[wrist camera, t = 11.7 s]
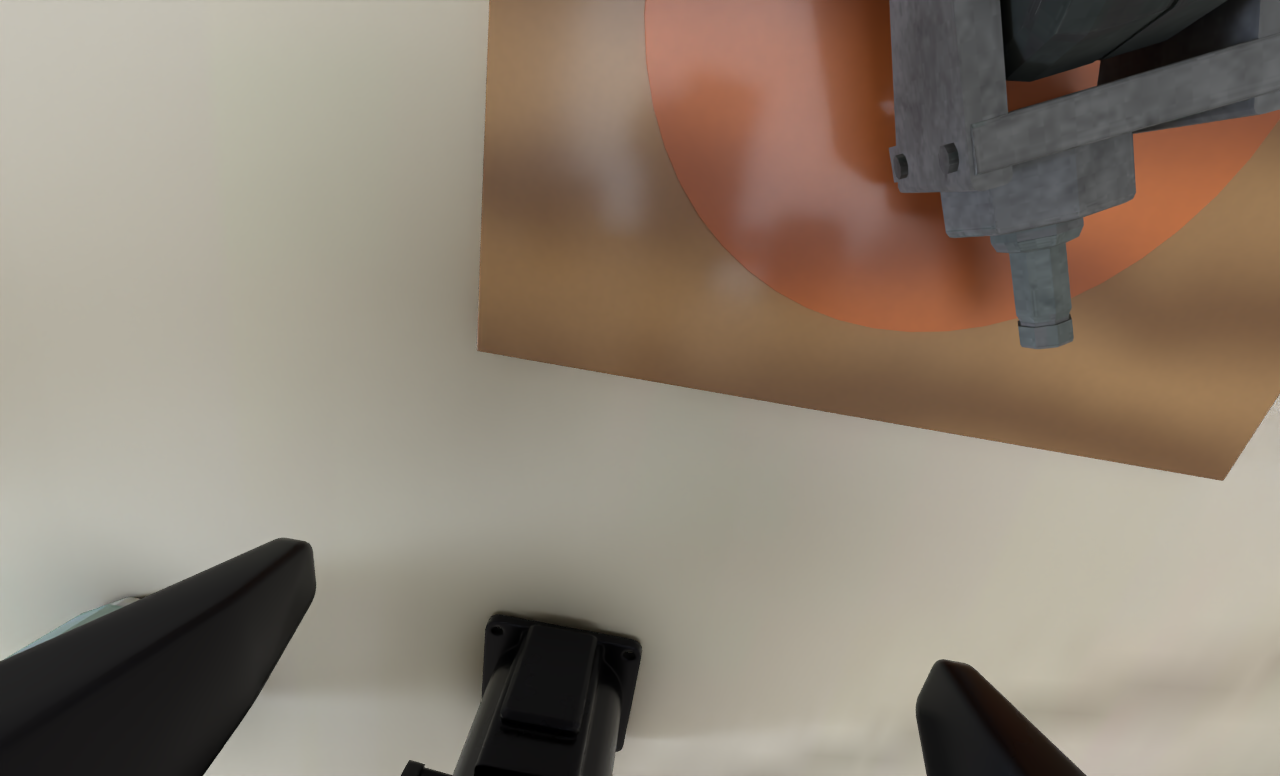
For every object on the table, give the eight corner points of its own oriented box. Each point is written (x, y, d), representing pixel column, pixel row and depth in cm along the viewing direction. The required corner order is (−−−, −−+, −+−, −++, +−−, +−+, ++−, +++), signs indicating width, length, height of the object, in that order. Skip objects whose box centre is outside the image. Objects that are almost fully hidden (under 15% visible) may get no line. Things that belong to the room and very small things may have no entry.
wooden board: (1203, 468, 19) (1228, 485, 18) (484, 343, 20) (473, 353, 19) (1870, -595, 10) (1981, -665, 9) (530, -753, 11) (514, -833, 10)
